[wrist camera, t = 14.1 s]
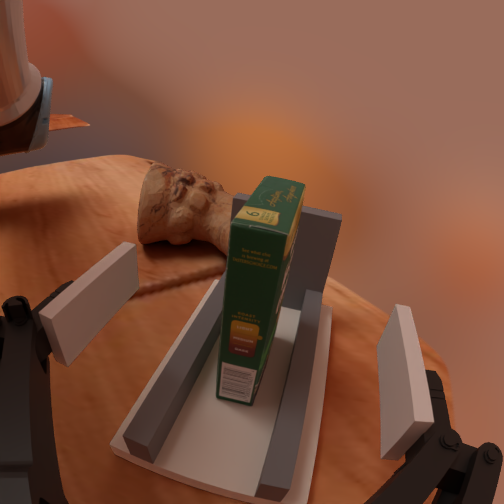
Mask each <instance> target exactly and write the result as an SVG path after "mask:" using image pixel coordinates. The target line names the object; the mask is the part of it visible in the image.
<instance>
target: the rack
mask: <svg viewBox="0 0 504 504" xmlns="http://www.w3.org/2000/svg"><path fill="white" fill-rule="evenodd" d="M250 196H251V195H246V194H242V193H237V194H236V195H235V196H234V197H233V201H232V211H231V221H230V224H231V222H232V220H233V219H234V218H235V216H236V215H237V214H238V212H239V211H240V210H241V208H242V207H243V206H244V204H245V203H246V202H247V200H248V199H249V198H250ZM341 222H342V215H341V214H338V213H334V212H329V211H325V210H320V209H316V208H311V207H306V206H302V211H301V216H300V222H299V227H298V232H297V237H296V242H295V247H294V252H293V257H292V261H291V267H290V271H289V275H288V280H287V284H286V289H285V293H284V297H283V302H282V306H281V311H280V315H279V319H278V323H277V328H276V332H275V336H274V340H273V344H272V347H271V351H270V355H269V358H268V361H267V364H266V369H265V371H264V374H263V377H262V380H261V383H260V386H259V389H258V392H257V395H256V397H255V400H254V403H253V406H247V405H243V404H240V403H235V402H231V401H227V400H223V399H218V398H216V377H217V363H218V350H219V339H220V329H221V318H222V308H223V296H224V285H225V275H226V271H225V272H224V274H223V275H222V277H221V279H220V280H216V279H215V280H214V282H213V284H212V285H211V287H210V288H209V290H208V291H207V293H206V294H205V296H204V297H203V299H202V300H201V302H200V303H199V305H198V306H197V308H196V309H195V311H194V312H193V314H192V315H191V317H190V319H189V320H188V322H187V323H186V325H185V326H184V328H183V329H182V331H181V332H180V334H179V335H178V337H177V339H176V340H175V342H174V343H173V345H172V346H171V348H170V349H169V351H168V352H167V354H166V356H165V357H164V359H163V360H162V362H161V363H160V365H159V366H158V368H157V370H156V371H155V373H154V374H153V376H152V377H151V379H150V380H149V382H148V384H147V385H146V387H145V388H144V390H143V391H142V393H141V395H140V396H139V398H138V399H137V401H136V402H135V404H134V406H133V407H132V409H131V410H130V412H129V413H128V415H127V417H126V418H125V420H124V421H123V423H122V425H121V426H120V428H119V429H118V431H117V432H116V434H115V436H114V437H113V439H112V440H111V442H110V444H109V445H110V447H111V449H112V451H113V452H114V454H115V455H117V456H119V457H122V458H124V459H126V460H128V461H130V462H132V463H134V464H137V465H139V466H141V467H143V468H146V469H148V470H151V471H153V472H155V473H158V474H160V475H163V476H165V477H168V478H171V479H173V480H176V481H179V482H181V483H184V484H187V485H190V486H193V487H196V488H199V489H202V490H205V491H208V492H211V493H215V494H218V495H222V496H225V497H229V498H232V499H236V500H240V501H244V502H248V503H252V504H307V501H308V495H309V490H310V485H311V480H312V474H313V468H314V463H315V457H316V450H317V444H318V437H319V431H320V424H321V416H322V409H323V401H324V393H325V384H326V375H327V366H328V356H329V345H330V333H331V321H332V307H330V306H326V305H321V303H322V294H323V290H324V286H325V283H326V279H327V276H328V272H329V268H330V264H331V260H332V257H333V253H334V249H335V245H336V242H337V238H338V234H339V230H340V226H341ZM229 236H230V231H229ZM228 246H229V242H228ZM227 256H228V252H227ZM226 265H227V263H226Z"/></svg>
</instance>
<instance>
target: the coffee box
mask: <svg viewBox="0 0 504 504" xmlns="http://www.w3.org/2000/svg"><path fill="white" fill-rule="evenodd" d="M305 188H306V187H305V184H303V183H299V182H296V181H292V180H287V179H282V178H277V177H271V176H266V177H264V179H263V180H262V182H261V183H260V184H259V186H258V187H257V188H256V190H255V191H254V192H253V194H252V195H251V196H250V198H249V199H248V200H247V202H246V203H245V204H244V206H243V207H242V208H241V210H240V211H239V212H238V214H237V215H236V216H235V218H234V219H233V220H232V222H231V224H230V236H229V246H228V256H227V265H226V275H225V285H224V296H223V308H222V318H221V329H220V339H219V350H218V363H217V377H216V398H218V399H223V400H227V401H231V402H235V403H240V404H243V405H247V406H253V403H254V400H255V397H256V395H257V392H258V389H259V386H260V383H261V380H262V377H263V374H264V371H265V369H266V364H267V361H268V358H269V355H270V351H271V347H272V344H273V340H274V336H275V332H276V328H277V323H278V319H279V315H280V311H281V306H282V302H283V297H284V293H285V289H286V284H287V280H288V275H289V271H290V267H291V261H292V257H293V252H294V247H295V242H296V237H297V232H298V227H299V222H300V216H301V211H302V205H303V199H304V193H305Z"/></svg>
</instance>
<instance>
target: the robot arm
mask: <svg viewBox="0 0 504 504" xmlns="http://www.w3.org/2000/svg"><path fill="white" fill-rule="evenodd" d="M52 88H53V80H52V79H51V78H46V77H42V78H41V75H40V72H39V70H38V69H37V68H36V67H35V66H34V65H33V64H31V63H29V62H28V57H27V50H26V40H25V30H24V18H23V1H22V0H0V156H5V155H9V154H16V153H22V152H25V153H28V152H30V151H33V150H38V149H41V148H43V147H44V146H45V145H46V144H47V141H48V132H49V119H50V107H51V96H52ZM138 289H139V280H138V267H137V252H136V244H132V243H128V242H123V243H121V244H120V245H119V246H118V247H116V248H115V249H114V250H113V251H111V252H110V253H109V254H107V255H106V256H105V257H104V258H102V259H101V260H100V261H99V262H97V263H96V264H95V265H94V266H93V267H91V268H90V269H89V270H88V271H86V272H85V273H84V274H83V275H82V276H80V277H79V278H78V279H77V280H76V281H72V280H71V281H69V282H67V283H65V284H62V285H61V286H60V287H59V288H58V289H56V290H55V292H53V293H52V294H50V296H49V297H47V298H46V299H45V300H43V301H42V302H41V303H40V304H39V305H38V306H37V307H35V308H34V309H33V310H32V311H31V309H30V305H29V302H28V300H27V299H26V297H23V296H14V297H11V298H9V299H7V300H6V301H5V302H4V303H3V305H2V309H3V312H4V315H5V317H3V316H0V504H69V503H68V501H67V499H66V498H65V495H64V492H63V488H62V483H61V478H60V472H59V466H58V460H57V453H56V446H55V438H54V430H53V420H52V407H51V391H50V361H49V357H48V355H49V354H50V353H51V352H53V355H54V357H55V360H56V361H57V362H59V363H61V364H63V365H65V366H67V367H69V366H70V364H71V363H72V362H73V361H74V360H75V359H76V357H77V356H78V355H79V354H80V353H81V352H82V351H83V349H84V348H85V347H86V346H87V345H88V344H89V343H90V342H91V340H92V339H93V338H94V337H95V336H96V335H97V334H98V333H99V331H100V330H101V329H102V328H103V327H104V326H105V325H106V324H107V323H108V321H109V320H110V319H111V318H112V317H113V316H114V315H115V314H116V313H117V312H118V310H119V309H120V308H121V307H122V306H123V305H124V304H125V303H126V302H127V301H128V300H129V299H130V298H131V296H132V295H133V294H134V293H135V292H136V291H137V290H138ZM377 357H378V372H379V390H380V418H381V459H386V460H399V459H400V458H401V457H402V456H403V455H404V454H405V458H406V462H405V463H404V464H403V465H402V466H401V467H400V468H398V469H397V470H396V471H395V472H394V474H393V475H392V477H391V478H390V479H389V480H388V481H387V482H386V483H385V484H384V485H383V486H382V487H381V488H380V489H379V490H378V491H377V492H376V493H375V494H374V495H373V496H371V497H370V498H369V499H368V500H367V501H366V502H365V503H364V504H423V503H424V501H425V500H426V499H427V498H428V496H429V495H430V494H431V492H432V491H433V490H434V489H435V488H438V490H437V492H436V495H435V497H434V499H433V501H432V504H492V502H493V499H494V495H495V491H496V487H497V484H498V479H499V475H500V471H501V466H502V461H503V456H502V453H501V450H500V449H499V447H498V446H496V445H495V444H494V443H490V442H488V443H484V444H482V445H481V446H480V447H479V448H475V447H472V446H469V445H467V444H464V443H462V440H461V438H460V436H459V434H458V433H457V432H456V431H455V430H453V429H451V426H450V420H449V414H448V409H447V404H446V400H445V394H444V392H443V391H444V390H443V385H442V381H441V379H440V377H439V376H438V374H437V373H436V371H431V370H425V367H424V363H423V358H422V353H421V349H420V344H419V340H418V336H417V332H416V328H415V324H414V320H413V316H412V312H411V309H410V307H408V306H403V305H399V304H396V305H395V307H394V309H393V312H392V314H391V316H390V318H389V321H388V323H387V325H386V327H385V330H384V332H383V334H382V336H381V338H380V340H379V342H378V345H377Z"/></svg>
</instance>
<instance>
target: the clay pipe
mask: <svg viewBox="0 0 504 504" xmlns="http://www.w3.org/2000/svg"><path fill="white" fill-rule="evenodd" d="M233 197H234V196H232V195H230V194H228V193H227V192H225V191H224V190H223V187H222V185H220V184H219V183H217V182H215V181H214V182H212V181H210V180H207V179H206V177H205V176H203V175H201V174H199V173H197V172H195V171H184V170H183V169H177V170H175V169H173V168H171V167H169V166H167V165H165V164H163V163H161V162H159V161H155V162H154V163H153V164H152V166H151V167H150V169H149V171H148V172H147V174H146V176H145V179H144V182H143V185H142V189H141V194H140V200H139V209H138V221H137V232H138V239H139V242H140V243H141V244H149V243H153V242H156V241H161V240H168V241H169V242H170V243H171V244H172V245H181V244H187V243H189V242H190V241H191V240H192V239H197V240H202V241H208V242H211V243H212V244H214V245H215V246H216V247H217V248H218V249H219V250H220V251H221V252H223V253H224V254H225V255H226V256H227V252H228V242H229V231H230V221H231V211H232V201H233Z"/></svg>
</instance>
